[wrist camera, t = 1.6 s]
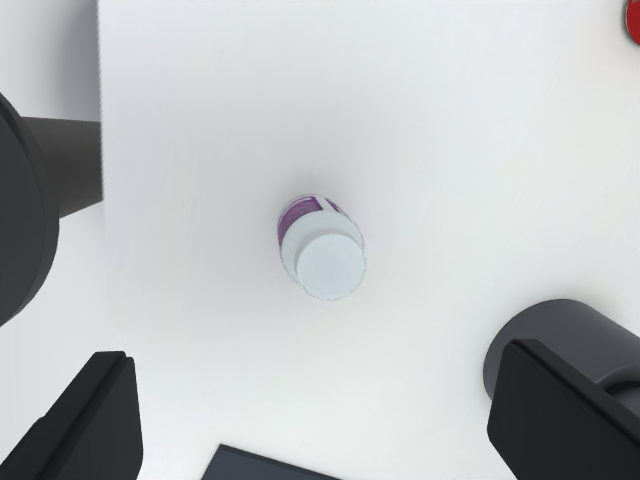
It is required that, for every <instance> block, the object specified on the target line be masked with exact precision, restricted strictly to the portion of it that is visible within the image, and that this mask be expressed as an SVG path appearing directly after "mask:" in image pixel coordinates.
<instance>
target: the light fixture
mask: <svg viewBox="0 0 640 480" xmlns="http://www.w3.org/2000/svg"><path fill="white" fill-rule="evenodd" d="M516 338H535V339H537V340H539V341H540V342H541V343H543V344H544V345H545V346H547V347H548V348H549V349H550V350H552V351H553V352H554V353H556V354H557V355H558V356H560V357H561V358H562V359H564V360H565V361H566V362H567V363H569V364H570V365H571V366H573V367H574V368H575V369H577V370H578V371H579V372H580V373H582V374H583V375H584V376H586V377H587V378H588V379H590V380H591V381H592V382H593V383H595V384H596V385H597V386H599V387H600V388H601V389H603V390H604V391H605V392H607V393H608V394H609V395H610V396H612V397H613V398H614V399H616V400H617V401H618V402H620V403H621V404H622V405H623V406H625V407H626V408H627V409H629V410H630V411H631V412H633V413H634V414H635V415H636V416H638V417H639V418H640V337H638V336H636V335H635V334H633V333H631V332H630V331H628V330H627V329H625V328H623V327H622V326H620V325H618V324H617V323H615V322H614V321H612V320H610V319H609V318H607V317H606V316H604V315H602V314H601V313H599V312H598V311H596V310H594V309H593V308H591V307H589V306H588V305H586V304H584V303H581V302H578V301H574V300H566V299H560V300H551V301H546V302H543V303H540V304H537V305H534V306H532V307H530V308H528V309H526V310H525V311H523V312H521V313H520V314H518V315H517V316H516V317H514V318H513V319H512V320H511V321H510V322H509V323H508V324H507V325H505V327H504V328H503V329H502V330H501V331H500V332H499V334H498V335H497V336H496V338H495V339H494V341H493V343H492V345H491V347H490V349H489V351H488V353H487V356H486V360H485V364H484V384H485V388H486V391H487V393H488V395H489V397H490V399H491V400H493V395H494V390H495V386H496V381H497V376H498V371H499V366H500V361H501V356H502V351H503V348H504V346H505V345H507V344H508V342H509V341H510V340H511V339H516Z"/></svg>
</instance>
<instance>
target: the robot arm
mask: <svg viewBox="0 0 640 480" xmlns="http://www.w3.org/2000/svg"><path fill="white" fill-rule="evenodd" d="M487 433H488V437H489V440H490V442H491V443H492V445H493V446H494V448H495V449H496V450H497V452H498V453H499V454H500V456H501V457H502V459H503V460H504V461H505V463H506V464H507V466H508V467H509V468H510V470H511V471H512V473H513V474H514V475H515V477H516V478H517V479H518V480H640V418H639V417H638V416H636V415H635V414H634V413H633V412H631V411H630V410H629V409H627V408H626V407H625V406H623V405H622V404H621V403H620V402H618V401H617V400H616V399H614V398H613V397H612V396H610V395H609V394H608V393H607V392H605V391H604V390H603V389H601V388H600V387H599V386H597V385H596V384H595V383H593V382H592V381H591V380H590V379H588V378H587V377H586V376H584V375H583V374H582V373H580V372H579V371H578V370H577V369H575V368H574V367H573V366H571V365H570V364H569V363H567V362H566V361H565V360H564V359H562V358H561V357H560V356H558V355H557V354H556V353H554V352H553V351H552V350H550V349H549V348H548V347H547V346H545V345H544V344H543V343H541V342H540V341H539V340H537V339H535V338H516V339H511V340H510V341H509V342H508V344H507V345H505V346H504V348H503V351H502V356H501V361H500V366H499V371H498V376H497V381H496V386H495V390H494V395H493V400H492V405H491V410H490V415H489V420H488V425H487ZM142 461H143V442H142V432H141V422H140V413H139V403H138V393H137V383H136V374H135V364H134V359H133V358H132V357H126V354H125V352H124V351H106V352H95V353H94V354H93V355H92V356H91V358H90V359H89V360H88V361H87V363H86V364H85V365H84V367H83V368H82V369H81V370H80V372H79V373H78V374H77V375H76V377H75V378H74V379H73V380H72V382H71V383H70V384H69V385H68V387H67V388H66V389H65V391H64V392H63V393H62V394H61V396H60V397H59V398H58V399H57V401H56V402H55V403H54V404H53V406H52V407H51V408H50V409H49V411H48V412H47V413H46V415H45V416H43V417H41V418H39V419H38V420H37V421H36V422H35V423H34V424H33V425H32V427H31V428H30V429H29V430H28V432H27V433H26V434H25V435H24V436H23V438H22V439H21V440H20V441H19V443H18V444H17V445H16V447H15V448H14V449H13V450H12V451H11V453H10V454H9V455H8V457H7V458H6V459H5V460H4V461H3V462H2V464H1V465H0V480H136V479H137V477H138V474H139V471H140V469H141V465H142Z"/></svg>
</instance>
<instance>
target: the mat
mask: <svg viewBox="0 0 640 480" xmlns="http://www.w3.org/2000/svg"><path fill="white" fill-rule="evenodd" d="M201 480H339V479H336V478H332V477H329V476H326V475H322V474H319V473H316V472H312V471H309V470H306V469H302V468H299V467H295V466H292V465H289V464H285V463H282V462H279V461H275V460H272V459H269V458H265V457H262V456H258V455H255V454H252V453H248V452H245V451H242V450H238V449H235V448H231V447H228V446H225V445H221V444H220V446H219V448H218V450H217V451H216V453H215V455H214V457H213V459H212V461H211V463H210V464H209V466H208V468H207V470H206V472H205V474H204V475H203V477H202V479H201Z"/></svg>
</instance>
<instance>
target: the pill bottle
mask: <svg viewBox="0 0 640 480" xmlns="http://www.w3.org/2000/svg"><path fill="white" fill-rule="evenodd" d="M277 231H278V239H279V245H280V252H281V259H282V263H283V266H284V268H285V270H286V272H287V273H288V275H289V276H290V277H291V279H292V280H293V281H294V282H296V283H297V284H298V285H300V286H301V287H303V289H304V290H305V291H306V292H307V293H309V294H310V295H312V296H313V297H316V298H319V299H322V300H336V299H340V298H343V297H345V296H347V295H349V294H350V293H352V292H353V291H354V290H355V289H356V288H357V287H358V286H359V284H360V283H361V281H362V279H363V277H364V274H365V270H366V259H365V245H364V240H363V237H362V234H361V232H360V230H359V229H358V227H357V225H356V224H355V223H354V222H353V221H352V220H351V219H350V218H349V217H348V216H347V215H346V214H345V213H344V212H343V211H342V210H341V209H340V208H339V207H338V206H337V205H335V204H334V203H333V202H332V201H331V200H329V199H327V198H325V197H323V196H320V195H314V194H309V195H303V196H300V197H297V198H295V199H293V200H292V201H291V202H289V203H288V204H287V205H286V206H285V208H284V209H283V210H282V212H281V214H280V216H279V219H278V225H277Z"/></svg>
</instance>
